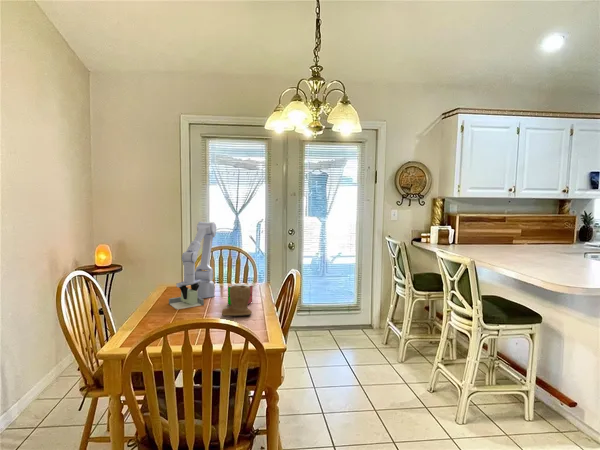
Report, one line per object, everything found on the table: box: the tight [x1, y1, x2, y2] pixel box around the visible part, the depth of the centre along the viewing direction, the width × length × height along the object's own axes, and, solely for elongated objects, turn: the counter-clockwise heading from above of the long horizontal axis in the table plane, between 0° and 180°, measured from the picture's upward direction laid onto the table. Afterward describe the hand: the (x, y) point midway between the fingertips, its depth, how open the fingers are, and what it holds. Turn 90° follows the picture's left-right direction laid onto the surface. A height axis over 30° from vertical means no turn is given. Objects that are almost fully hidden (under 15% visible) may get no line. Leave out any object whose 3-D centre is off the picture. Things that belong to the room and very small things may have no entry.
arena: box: [168, 296, 205, 310], centre depth 212 cm, size 15×12×3 cm
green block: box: [180, 288, 197, 304], centre depth 212 cm, size 9×4×6 cm, turn 48°
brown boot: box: [221, 285, 253, 317], centre depth 197 cm, size 15×12×15 cm
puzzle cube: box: [227, 282, 253, 306], centre depth 217 cm, size 10×10×10 cm
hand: (189, 298), depth 212 cm, fingers closed on green block, 4 cm apart
